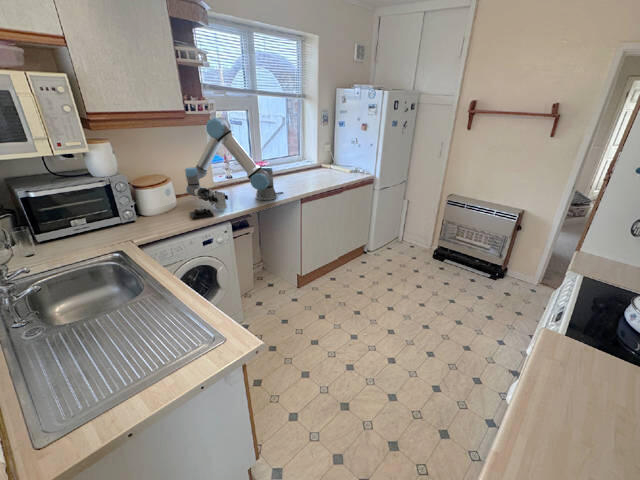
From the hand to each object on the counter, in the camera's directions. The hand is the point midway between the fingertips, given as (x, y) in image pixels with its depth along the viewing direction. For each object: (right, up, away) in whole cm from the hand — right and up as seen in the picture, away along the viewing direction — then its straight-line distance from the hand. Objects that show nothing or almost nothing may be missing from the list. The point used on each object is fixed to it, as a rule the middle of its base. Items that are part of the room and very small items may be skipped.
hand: (222, 198), depth 209 cm
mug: (-4, -5, +5) cm, 8 cm away
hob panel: (-11, -12, -6) cm, 17 cm away
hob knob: (-11, -9, -8) cm, 16 cm away
